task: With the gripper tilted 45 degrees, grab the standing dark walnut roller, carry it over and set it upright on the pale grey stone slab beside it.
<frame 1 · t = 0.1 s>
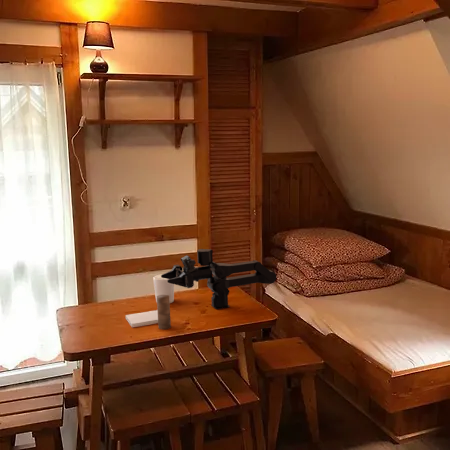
hand: (164, 278, 228), 17 cm above the table, tool horizontal, fingers open, 9 cm apart
stone slab: (147, 319, 227), on the table
walnut roller: (164, 327, 217), on the table
white cylinder: (165, 301, 251), on the table
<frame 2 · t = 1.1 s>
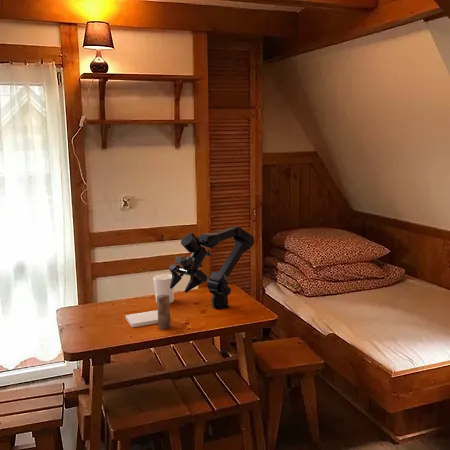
hand: (177, 290, 221), 14 cm above the table, tool tilted 45°, fingers open, 9 cm apart
nothing on the table moved.
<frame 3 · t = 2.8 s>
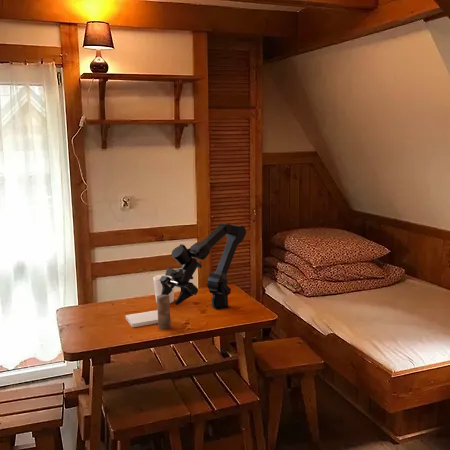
hand: (168, 302, 217), 10 cm above the table, tool tilted 45°, fingers open, 9 cm apart
nothing on the table moved.
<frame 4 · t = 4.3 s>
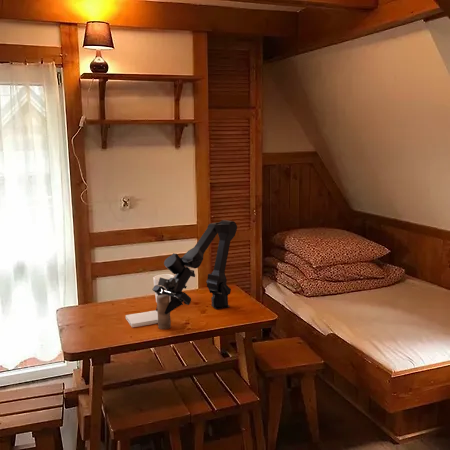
hand: (161, 312, 215), 7 cm above the table, tool tilted 45°, fingers closed on walnut roller, 5 cm apart
walnut roller: (164, 327, 217), on the table, touching gripper
everything else where it was.
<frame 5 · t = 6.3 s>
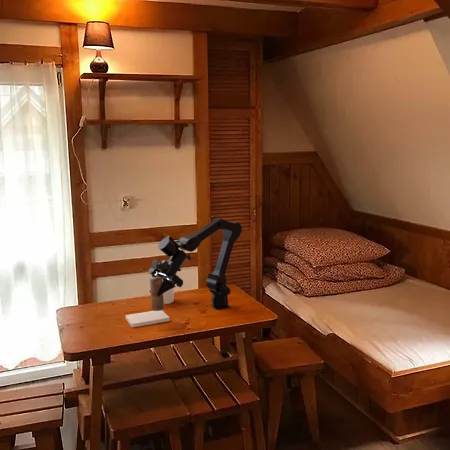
hand: (153, 294, 217), 13 cm above the table, tool tilted 45°, fingers closed on walnut roller, 5 cm apart
walnut roller: (157, 308, 219), point 7 cm above the table, touching gripper
everything else where it was.
when the fingers open (9 cm above the table, at t = 8.2 s): walnut roller drops 1 cm, resting on stone slab.
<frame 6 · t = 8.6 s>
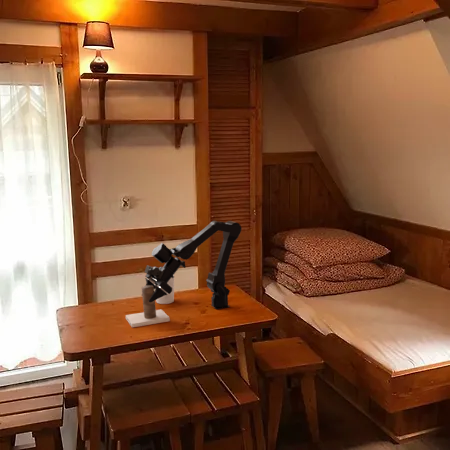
hand: (145, 298, 224), 10 cm above the table, tool tilted 45°, fingers open, 9 cm apart
walnut roller: (150, 316, 226), point 2 cm above the table, touching stone slab
everything else where it was.
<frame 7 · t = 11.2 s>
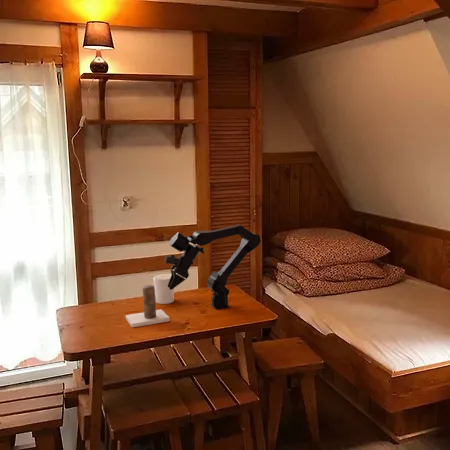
hand: (169, 288, 229), 12 cm above the table, tool tilted 35°, fingers open, 9 cm apart
nothing on the table moved.
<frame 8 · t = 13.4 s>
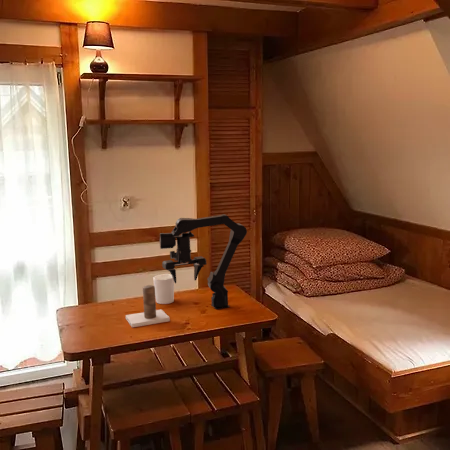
hand: (185, 281, 235), 13 cm above the table, tool pointing down, fingers open, 9 cm apart
nothing on the table moved.
at the end: walnut roller inside the target area on the stone slab (0.5 cm from its centre), point 1.5 cm above the stone slab's base; walnut roller tilted 1°; the gripper is holding nothing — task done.
